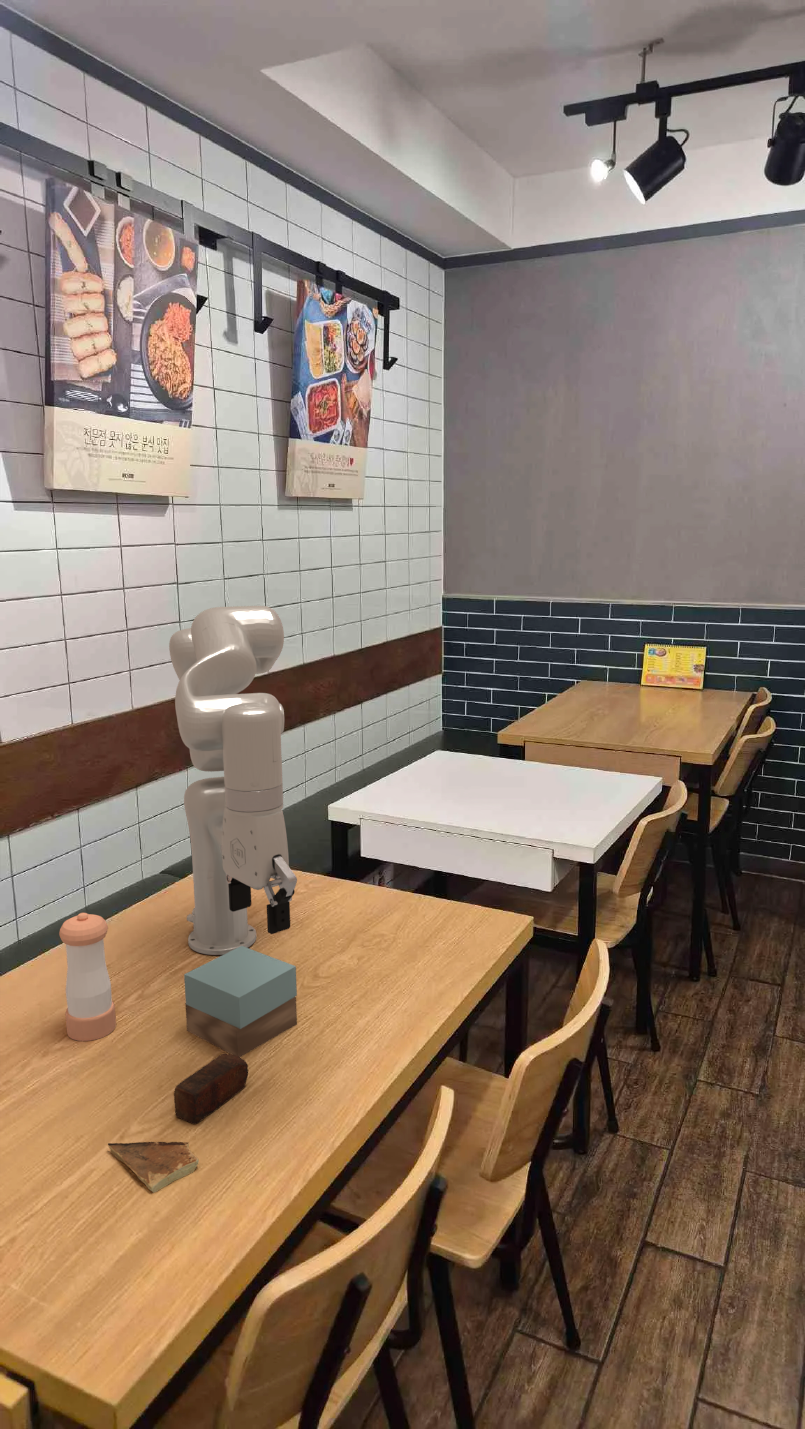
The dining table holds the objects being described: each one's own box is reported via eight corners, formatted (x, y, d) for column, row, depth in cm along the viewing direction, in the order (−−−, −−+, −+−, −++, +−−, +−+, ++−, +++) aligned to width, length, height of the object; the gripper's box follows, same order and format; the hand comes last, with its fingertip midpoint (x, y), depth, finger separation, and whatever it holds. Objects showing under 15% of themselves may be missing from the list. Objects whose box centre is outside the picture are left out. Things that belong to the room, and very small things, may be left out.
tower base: (187, 1032, 144) (185, 1003, 143) (245, 1001, 153) (244, 973, 152) (238, 1060, 137) (236, 1029, 136) (296, 1026, 146) (296, 997, 145)
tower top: (185, 1004, 143) (184, 974, 142) (242, 973, 152) (241, 945, 151) (240, 1028, 136) (239, 997, 135) (296, 995, 145) (295, 966, 144)
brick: (196, 1127, 121) (195, 1095, 120) (174, 1117, 123) (172, 1086, 122) (249, 1085, 130) (248, 1055, 129) (228, 1077, 132) (226, 1047, 131)
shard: (108, 1153, 117) (107, 1140, 116) (162, 1126, 122) (162, 1114, 122) (150, 1198, 109) (149, 1185, 109) (206, 1167, 114) (206, 1155, 114)
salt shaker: (125, 1020, 147) (117, 907, 143) (96, 1044, 140) (87, 926, 136) (87, 1013, 149) (78, 901, 146) (56, 1036, 143) (46, 920, 139)
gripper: (196, 789, 126) (203, 907, 130) (265, 817, 113) (270, 948, 117) (244, 779, 131) (249, 894, 134) (315, 805, 118) (319, 931, 121)
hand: (259, 919), depth 126 cm, fingers open, 9 cm apart
